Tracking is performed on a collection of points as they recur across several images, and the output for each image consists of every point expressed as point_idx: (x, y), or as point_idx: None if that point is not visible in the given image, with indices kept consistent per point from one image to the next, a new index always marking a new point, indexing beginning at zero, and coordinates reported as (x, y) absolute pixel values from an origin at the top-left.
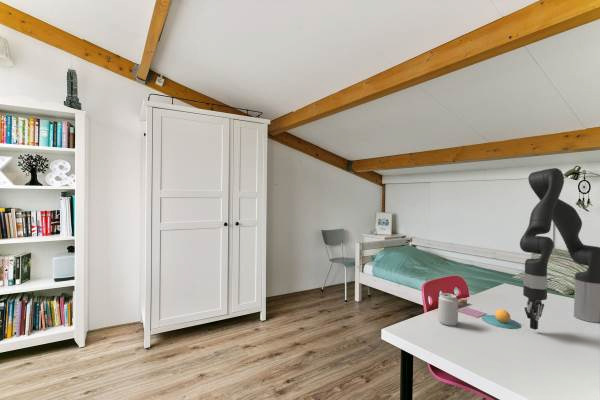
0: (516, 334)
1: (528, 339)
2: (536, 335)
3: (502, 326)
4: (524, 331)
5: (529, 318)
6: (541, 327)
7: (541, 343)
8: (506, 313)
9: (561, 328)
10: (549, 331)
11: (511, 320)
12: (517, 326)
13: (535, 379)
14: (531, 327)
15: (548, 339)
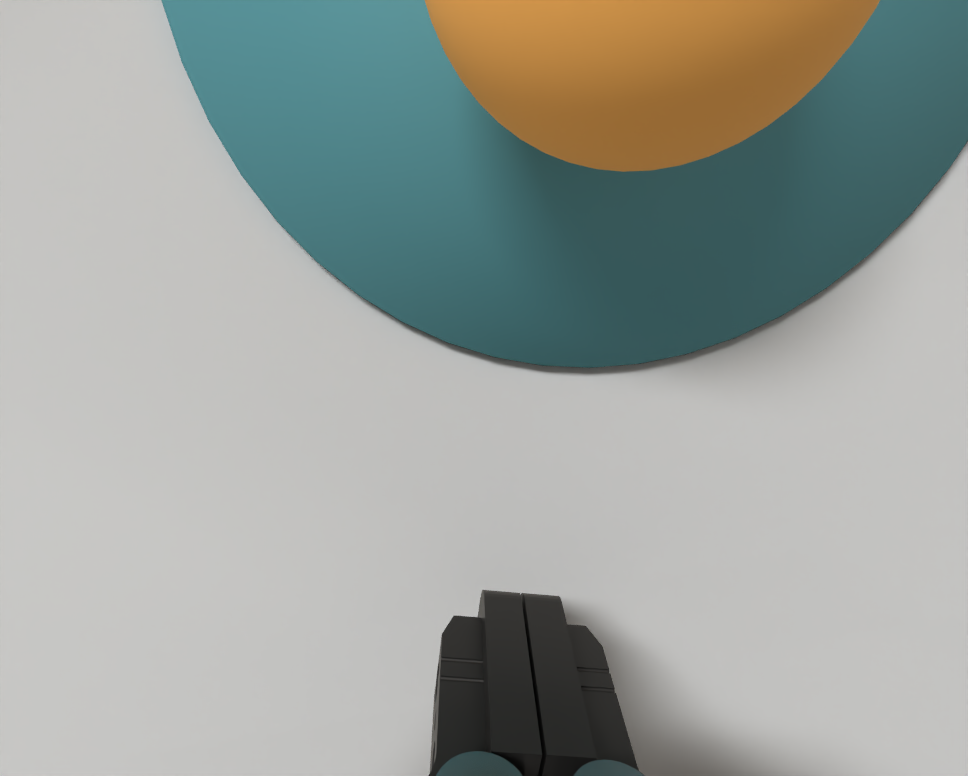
0: (100, 420)
1: (70, 600)
2: (396, 634)
3: (253, 92)
4: (416, 473)
5: (441, 769)
6: (902, 603)
7: (105, 740)
8: (574, 51)
9: None
10: (781, 709)
11: (903, 122)
12: (565, 328)
13: None
14: (451, 630)
15: (381, 762)
